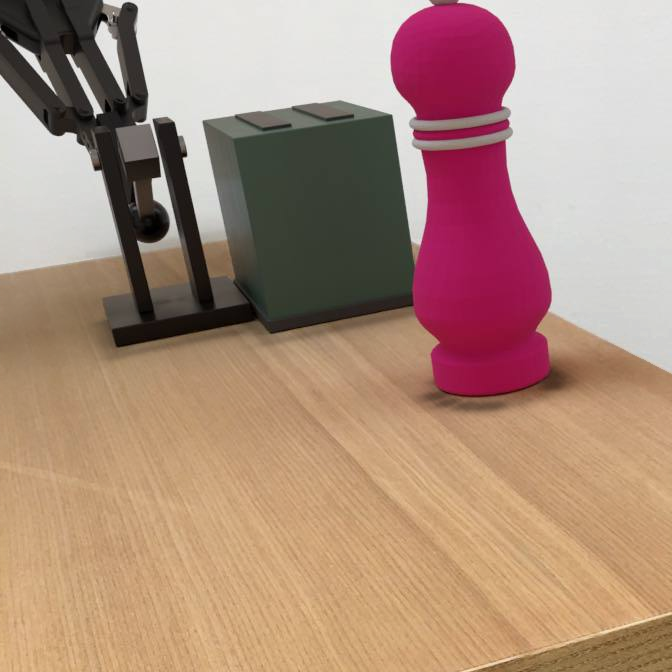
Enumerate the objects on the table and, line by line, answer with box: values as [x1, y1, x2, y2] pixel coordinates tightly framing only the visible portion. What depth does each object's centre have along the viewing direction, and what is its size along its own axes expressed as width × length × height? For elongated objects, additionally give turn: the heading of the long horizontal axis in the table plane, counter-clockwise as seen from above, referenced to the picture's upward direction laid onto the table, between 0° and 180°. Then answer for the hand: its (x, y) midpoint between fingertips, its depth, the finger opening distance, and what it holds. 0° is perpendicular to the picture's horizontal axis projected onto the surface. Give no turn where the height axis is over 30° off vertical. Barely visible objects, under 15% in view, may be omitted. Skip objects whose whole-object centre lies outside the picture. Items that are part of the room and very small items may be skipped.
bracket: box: [88, 116, 254, 348], centre depth 82 cm, size 10×9×13 cm
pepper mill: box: [389, 0, 553, 396], centre depth 61 cm, size 7×7×20 cm
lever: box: [115, 123, 171, 244], centre depth 85 cm, size 13×3×3 cm
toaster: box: [201, 100, 416, 334], centre depth 83 cm, size 14×10×12 cm
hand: (140, 193), depth 89 cm, fingers closed
